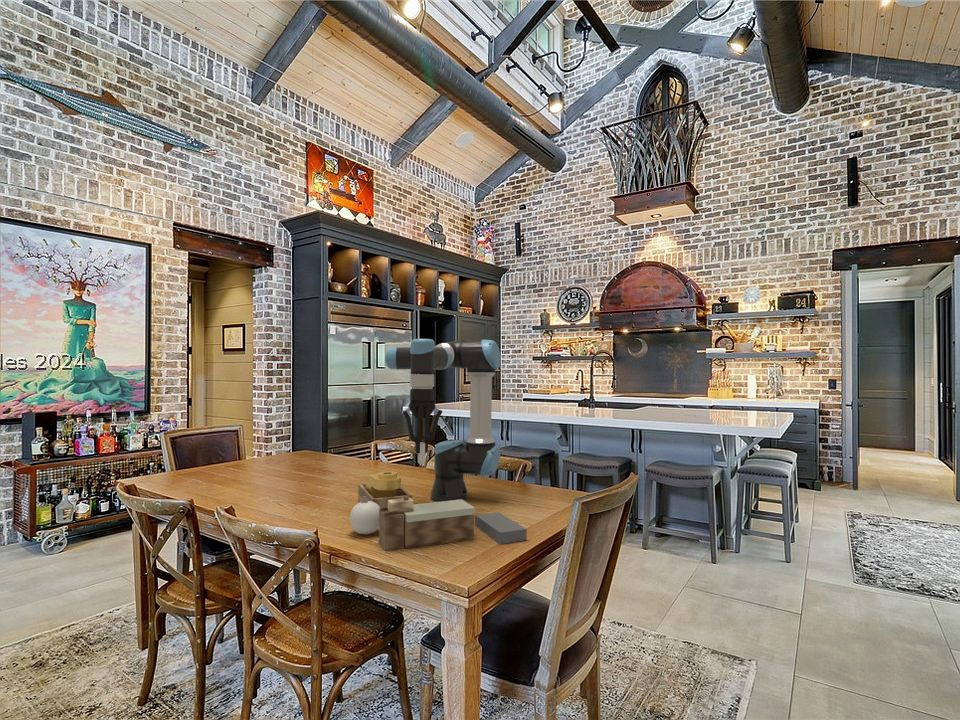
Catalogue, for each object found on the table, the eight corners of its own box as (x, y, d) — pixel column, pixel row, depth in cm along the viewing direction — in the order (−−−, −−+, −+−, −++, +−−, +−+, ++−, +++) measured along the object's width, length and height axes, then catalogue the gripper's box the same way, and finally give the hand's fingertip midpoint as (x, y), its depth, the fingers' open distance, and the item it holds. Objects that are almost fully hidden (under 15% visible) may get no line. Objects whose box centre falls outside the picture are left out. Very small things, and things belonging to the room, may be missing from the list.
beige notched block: (410, 507, 158) (410, 494, 158) (413, 510, 155) (413, 497, 155) (387, 509, 155) (387, 496, 156) (390, 513, 152) (390, 499, 152)
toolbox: (463, 530, 168) (463, 497, 168) (474, 539, 160) (474, 504, 160) (378, 541, 157) (378, 506, 157) (385, 551, 149) (385, 514, 149)
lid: (461, 505, 169) (461, 499, 169) (474, 514, 159) (474, 507, 159) (397, 512, 160) (397, 506, 160) (406, 522, 150) (407, 515, 150)
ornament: (352, 540, 158) (353, 501, 158) (347, 530, 167) (347, 493, 168) (385, 536, 162) (385, 498, 162) (378, 527, 171) (378, 491, 172)
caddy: (394, 503, 200) (394, 480, 200) (411, 521, 177) (411, 495, 178) (358, 507, 195) (358, 483, 195) (371, 526, 172) (371, 499, 172)
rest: (498, 522, 177) (498, 512, 177) (526, 540, 158) (526, 529, 158) (474, 525, 173) (474, 515, 173) (500, 544, 155) (500, 532, 155)
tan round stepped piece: (404, 520, 179) (404, 474, 180) (378, 523, 175) (378, 477, 175) (386, 506, 197) (386, 464, 197) (362, 509, 193) (363, 466, 193)
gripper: (438, 387, 166) (437, 460, 166) (399, 387, 161) (398, 462, 161) (445, 388, 159) (445, 464, 159) (404, 388, 154) (403, 466, 154)
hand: (421, 463), depth 160 cm, fingers closed
